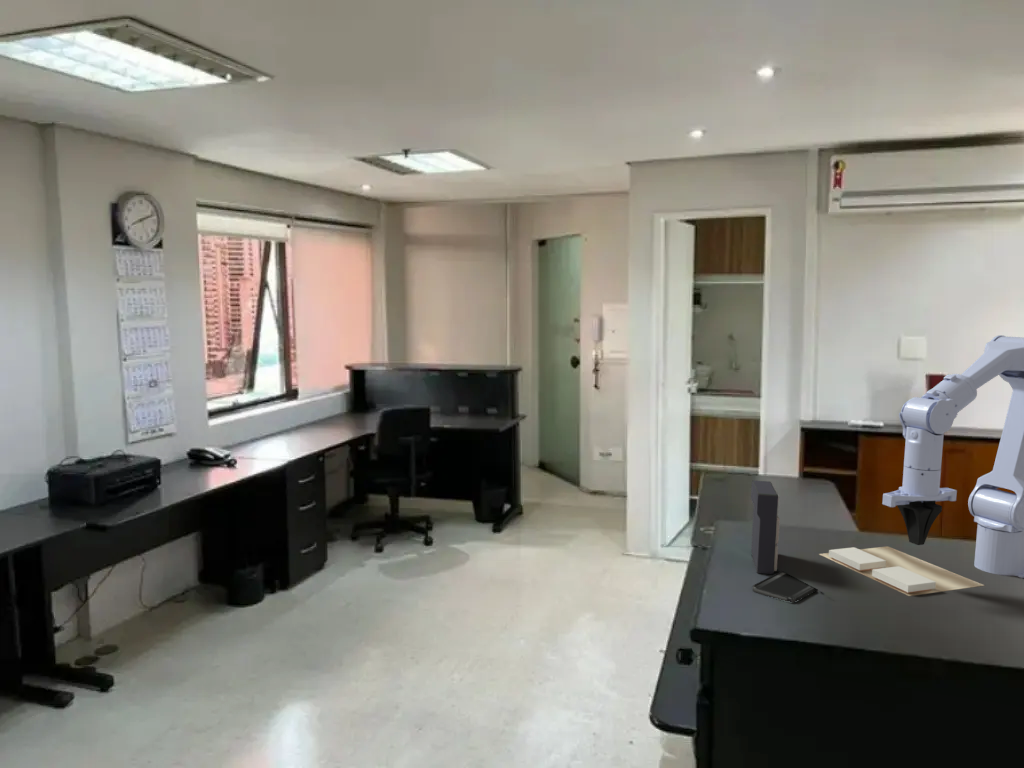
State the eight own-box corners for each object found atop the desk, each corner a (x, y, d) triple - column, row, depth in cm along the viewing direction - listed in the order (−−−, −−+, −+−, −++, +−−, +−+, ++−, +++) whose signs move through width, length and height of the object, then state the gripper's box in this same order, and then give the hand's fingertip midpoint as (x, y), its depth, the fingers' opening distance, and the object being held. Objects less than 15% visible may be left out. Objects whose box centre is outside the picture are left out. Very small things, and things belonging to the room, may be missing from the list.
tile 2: (898, 566, 140) (872, 569, 138) (935, 581, 133) (908, 585, 131) (898, 574, 140) (871, 578, 138) (934, 590, 133) (907, 594, 131)
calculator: (778, 575, 141) (782, 495, 140) (753, 573, 142) (757, 493, 140) (770, 556, 152) (774, 481, 150) (747, 554, 153) (751, 479, 151)
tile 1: (854, 547, 151) (829, 549, 149) (886, 560, 143) (859, 563, 141) (853, 555, 151) (828, 558, 149) (885, 569, 143) (859, 572, 141)
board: (887, 550, 157) (887, 546, 157) (984, 589, 136) (984, 585, 136) (818, 557, 151) (818, 553, 151) (908, 600, 131) (909, 595, 130)
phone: (750, 586, 134) (790, 566, 144) (749, 593, 134) (789, 572, 144) (793, 600, 128) (832, 577, 138) (793, 606, 128) (832, 583, 139)
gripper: (935, 459, 140) (929, 532, 142) (871, 464, 135) (866, 539, 137) (969, 468, 133) (963, 544, 135) (903, 473, 129) (897, 552, 130)
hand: (916, 543), depth 136 cm, fingers closed
